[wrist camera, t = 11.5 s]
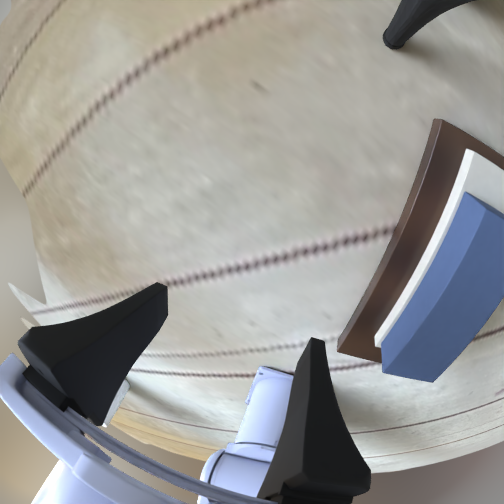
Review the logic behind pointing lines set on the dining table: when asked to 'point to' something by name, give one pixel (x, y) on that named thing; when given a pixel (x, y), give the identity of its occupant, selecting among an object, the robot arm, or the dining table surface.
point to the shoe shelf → (411, 235)
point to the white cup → (116, 402)
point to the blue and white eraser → (451, 279)
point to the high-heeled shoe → (415, 18)
